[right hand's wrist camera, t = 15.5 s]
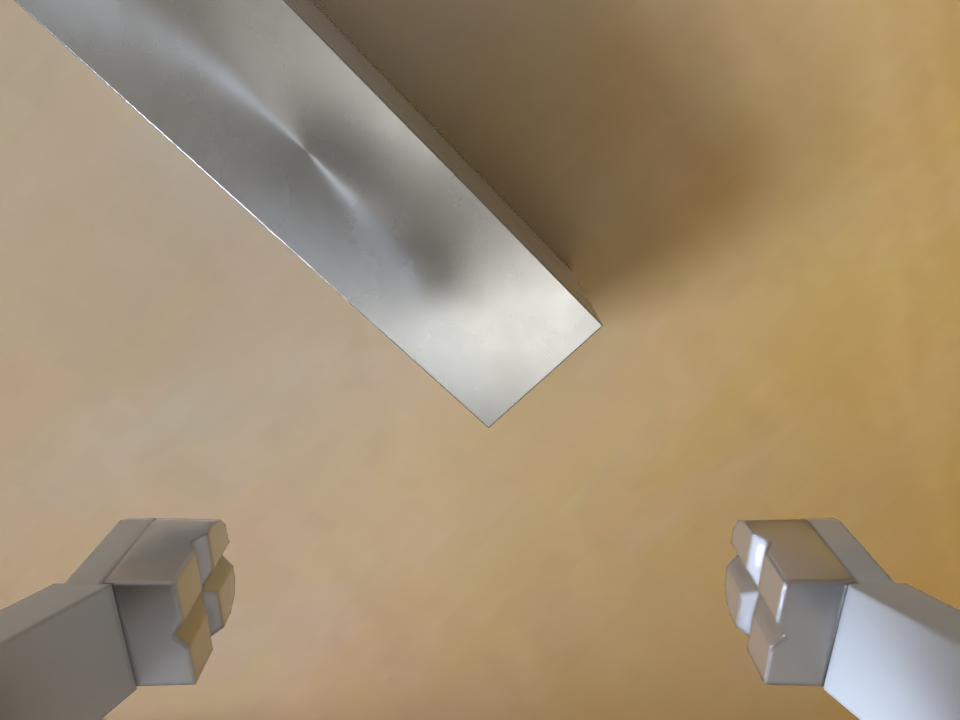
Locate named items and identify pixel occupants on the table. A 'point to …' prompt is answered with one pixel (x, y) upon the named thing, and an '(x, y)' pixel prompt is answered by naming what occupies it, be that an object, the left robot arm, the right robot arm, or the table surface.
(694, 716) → the table surface
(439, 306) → the bar
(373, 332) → the table surface
